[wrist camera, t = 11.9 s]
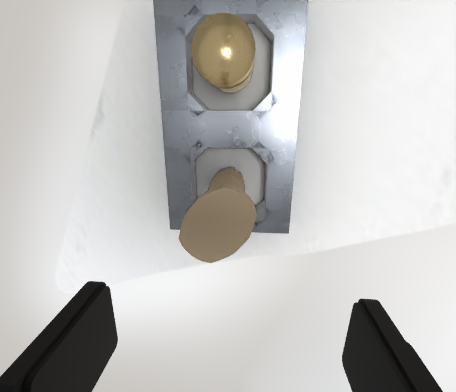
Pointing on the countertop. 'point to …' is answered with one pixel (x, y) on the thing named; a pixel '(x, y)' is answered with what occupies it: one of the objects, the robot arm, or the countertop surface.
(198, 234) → the handle
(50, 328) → the robot arm
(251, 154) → the countertop surface
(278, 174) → the bolt plate
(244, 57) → the brass pin
